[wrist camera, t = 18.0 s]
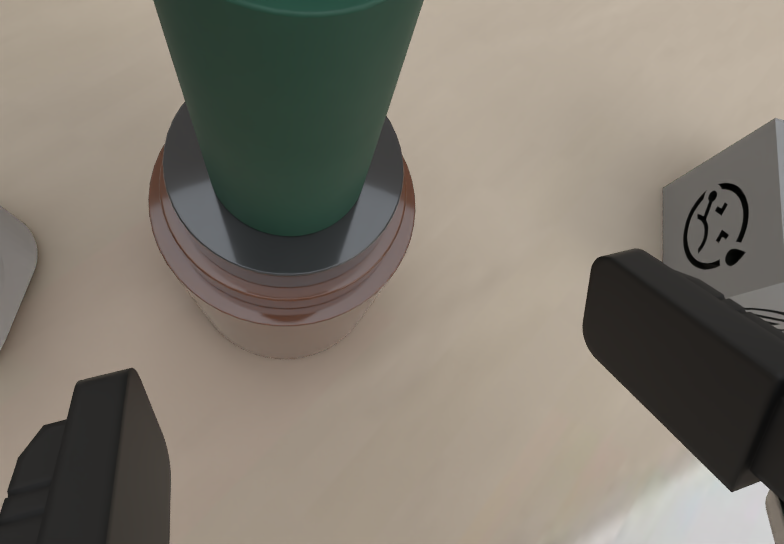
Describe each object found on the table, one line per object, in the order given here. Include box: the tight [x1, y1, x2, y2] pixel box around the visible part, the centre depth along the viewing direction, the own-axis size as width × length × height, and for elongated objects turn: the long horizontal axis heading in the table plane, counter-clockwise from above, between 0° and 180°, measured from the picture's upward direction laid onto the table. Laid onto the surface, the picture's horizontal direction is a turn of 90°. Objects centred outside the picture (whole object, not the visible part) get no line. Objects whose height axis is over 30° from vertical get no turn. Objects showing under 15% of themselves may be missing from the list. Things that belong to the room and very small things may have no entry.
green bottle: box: [153, 0, 424, 236], centre depth 13 cm, size 6×6×15 cm
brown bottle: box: [148, 102, 415, 359], centre depth 27 cm, size 11×11×15 cm
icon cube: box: [663, 118, 784, 332], centre depth 36 cm, size 10×10×10 cm
